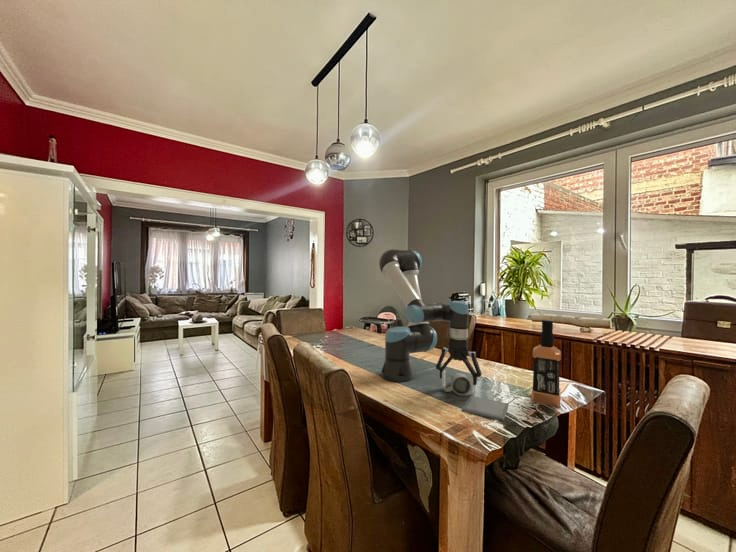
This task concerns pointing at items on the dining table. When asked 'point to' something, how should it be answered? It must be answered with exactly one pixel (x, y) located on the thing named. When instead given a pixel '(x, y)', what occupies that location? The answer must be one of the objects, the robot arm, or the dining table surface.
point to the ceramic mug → (458, 384)
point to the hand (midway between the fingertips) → (457, 389)
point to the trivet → (486, 407)
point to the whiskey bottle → (546, 368)
